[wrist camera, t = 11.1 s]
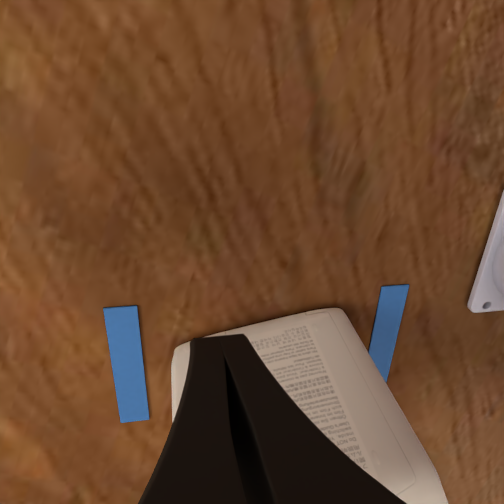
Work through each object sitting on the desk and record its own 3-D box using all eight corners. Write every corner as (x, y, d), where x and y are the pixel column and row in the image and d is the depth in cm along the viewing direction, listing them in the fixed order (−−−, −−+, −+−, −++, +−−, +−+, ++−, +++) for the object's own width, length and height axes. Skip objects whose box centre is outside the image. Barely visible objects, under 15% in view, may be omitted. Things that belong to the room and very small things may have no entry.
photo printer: (180, 397, 26) (196, 672, 15) (159, 341, 24) (163, 616, 13) (351, 352, 27) (480, 584, 16) (346, 294, 25) (492, 518, 14)
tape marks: (408, 284, 25) (409, 285, 25) (383, 389, 29) (384, 390, 29) (103, 307, 22) (103, 309, 22) (120, 421, 26) (120, 423, 26)
